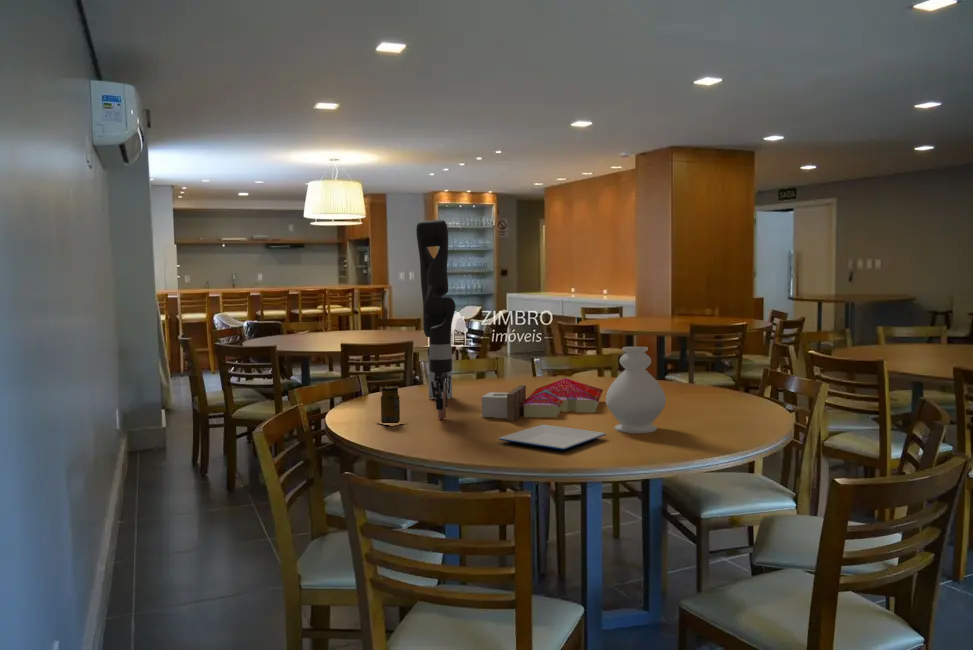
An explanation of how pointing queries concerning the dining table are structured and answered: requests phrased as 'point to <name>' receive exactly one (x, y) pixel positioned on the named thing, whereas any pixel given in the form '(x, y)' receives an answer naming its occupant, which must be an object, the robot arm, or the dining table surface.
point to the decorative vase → (635, 394)
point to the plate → (552, 437)
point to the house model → (561, 399)
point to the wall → (515, 403)
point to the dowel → (443, 412)
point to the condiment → (390, 405)
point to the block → (494, 405)
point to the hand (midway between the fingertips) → (441, 408)
